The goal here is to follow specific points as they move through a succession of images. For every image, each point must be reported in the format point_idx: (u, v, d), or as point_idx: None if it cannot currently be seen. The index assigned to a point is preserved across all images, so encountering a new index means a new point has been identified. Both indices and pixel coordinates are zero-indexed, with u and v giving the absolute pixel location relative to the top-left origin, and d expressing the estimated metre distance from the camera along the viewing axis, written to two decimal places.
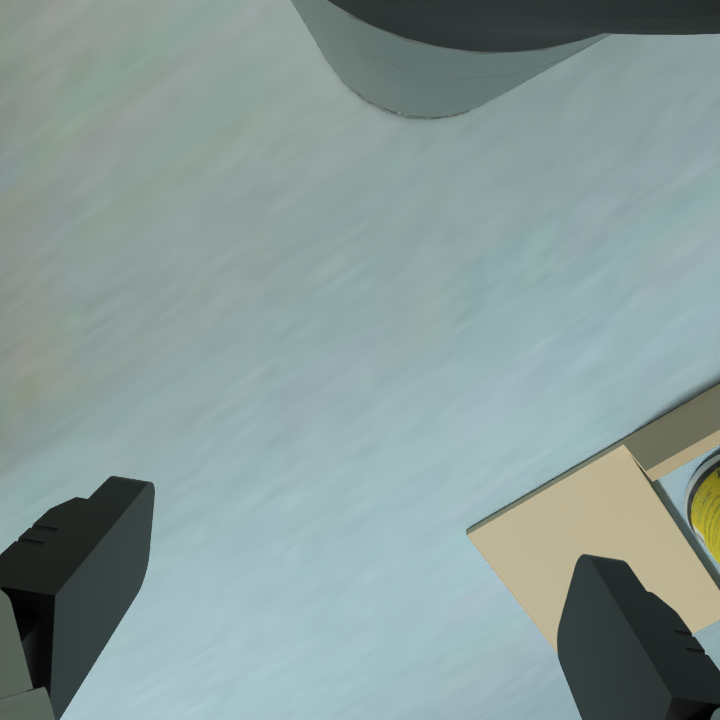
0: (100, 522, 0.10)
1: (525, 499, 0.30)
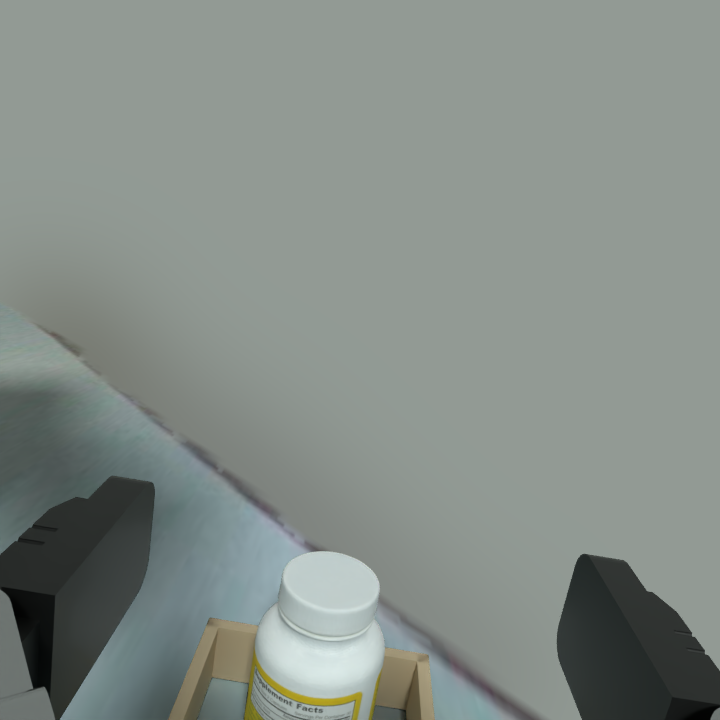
0: (100, 522, 0.10)
1: None
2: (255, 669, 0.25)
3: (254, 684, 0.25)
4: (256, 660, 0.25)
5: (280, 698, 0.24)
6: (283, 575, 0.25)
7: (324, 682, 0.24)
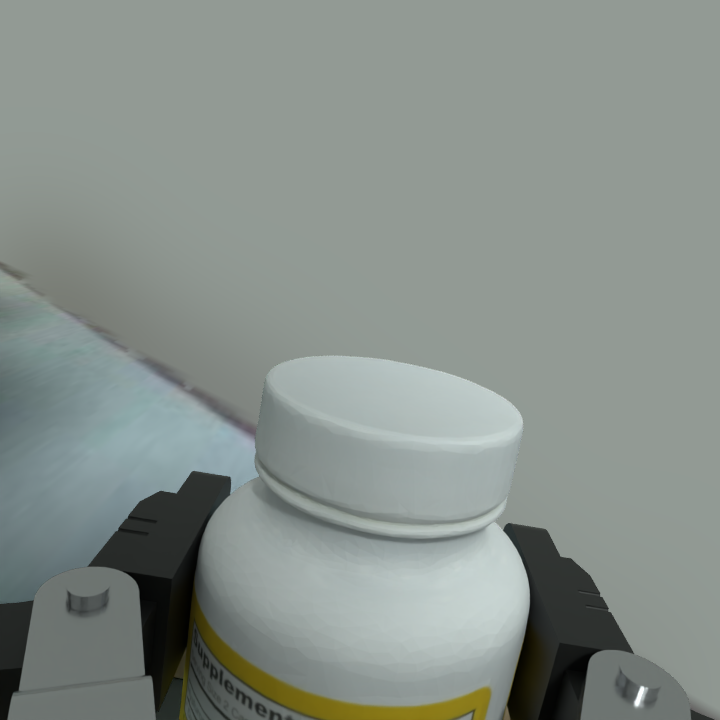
0: (194, 513, 0.10)
1: None
2: (193, 630, 0.09)
3: (192, 672, 0.09)
4: (196, 606, 0.09)
5: (259, 708, 0.08)
6: (268, 377, 0.09)
7: (391, 656, 0.08)
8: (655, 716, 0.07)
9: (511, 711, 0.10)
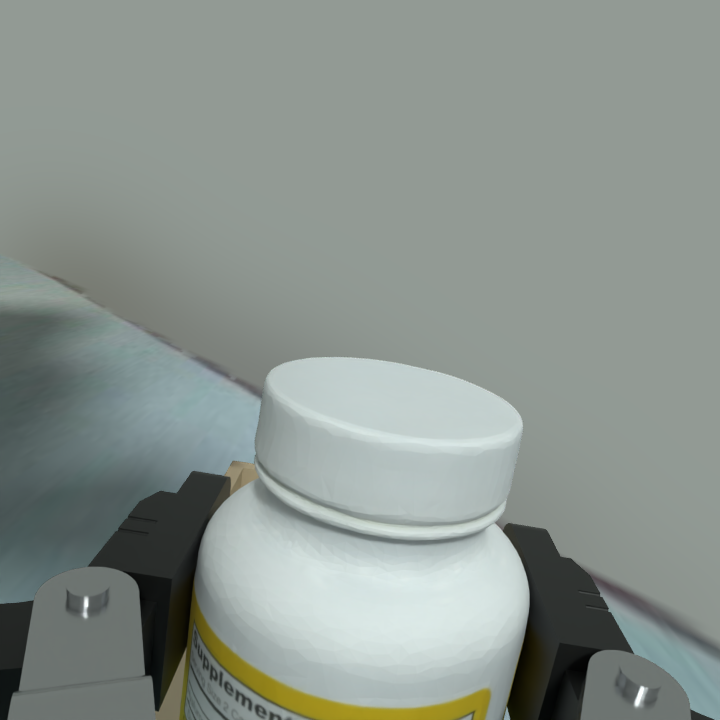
0: (194, 513, 0.10)
1: None
2: (192, 632, 0.09)
3: (191, 673, 0.09)
4: (196, 608, 0.09)
5: (259, 709, 0.08)
6: (268, 379, 0.09)
7: (391, 658, 0.08)
8: (655, 716, 0.07)
9: (511, 711, 0.10)
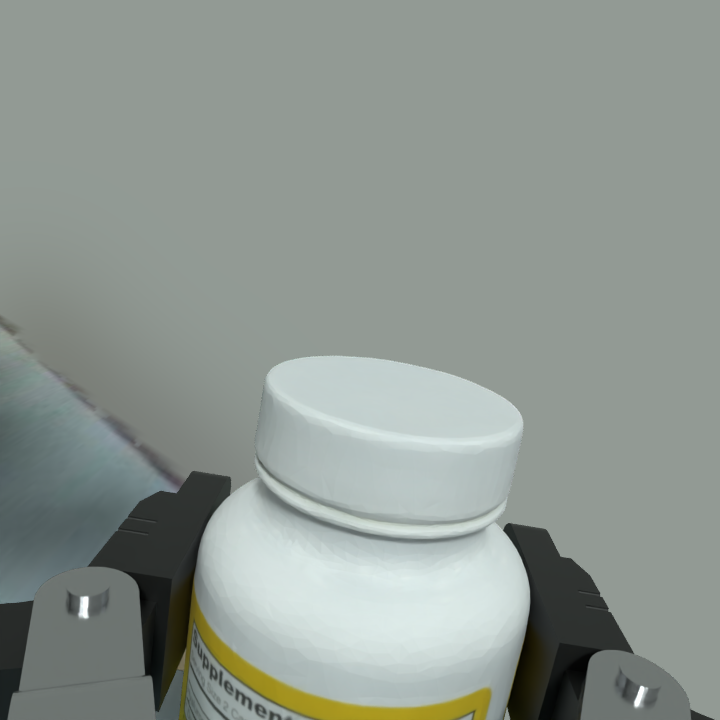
0: (194, 513, 0.10)
1: None
2: (192, 631, 0.09)
3: (191, 673, 0.09)
4: (196, 607, 0.09)
5: (259, 709, 0.08)
6: (268, 377, 0.09)
7: (391, 657, 0.08)
8: (655, 716, 0.07)
9: (511, 710, 0.10)
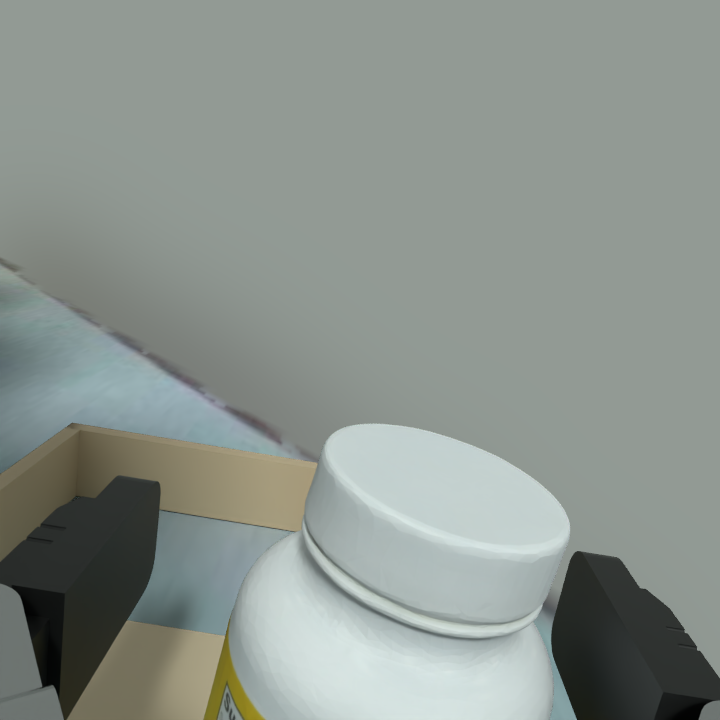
0: (107, 521, 0.10)
1: None
2: (224, 693, 0.10)
3: None
4: (231, 671, 0.09)
5: None
6: (326, 452, 0.10)
7: None
8: None
9: None
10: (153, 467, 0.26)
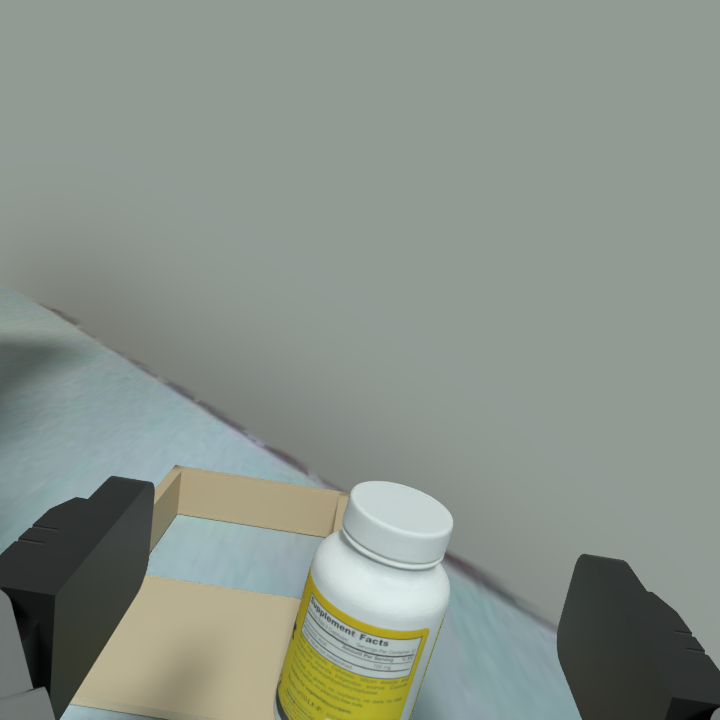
0: (100, 522, 0.10)
1: None
2: (310, 597, 0.23)
3: (308, 614, 0.23)
4: (314, 587, 0.23)
5: (341, 627, 0.22)
6: (352, 496, 0.23)
7: (394, 611, 0.21)
8: None
9: None
10: (229, 494, 0.40)
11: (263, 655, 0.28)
